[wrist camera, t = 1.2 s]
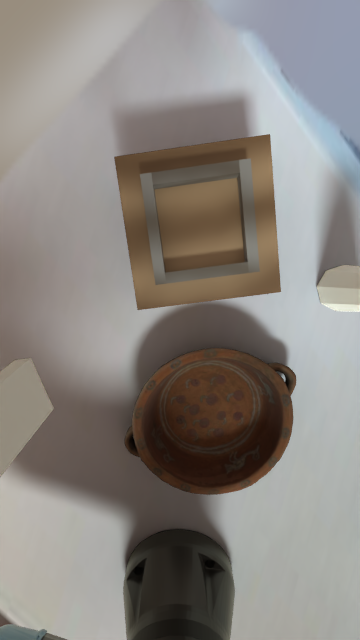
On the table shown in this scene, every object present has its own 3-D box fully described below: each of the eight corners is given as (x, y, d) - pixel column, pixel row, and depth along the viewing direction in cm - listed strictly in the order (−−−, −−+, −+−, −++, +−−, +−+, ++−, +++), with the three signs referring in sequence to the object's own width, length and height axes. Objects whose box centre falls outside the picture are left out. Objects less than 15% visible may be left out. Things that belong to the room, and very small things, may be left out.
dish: (314, 425, 34) (336, 450, 29) (164, 492, 36) (161, 526, 31) (257, 306, 32) (271, 311, 27) (100, 384, 34) (86, 402, 29)
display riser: (262, 289, 31) (285, 292, 24) (146, 304, 32) (135, 311, 25) (252, 163, 29) (274, 126, 22) (128, 181, 30) (110, 150, 22)
